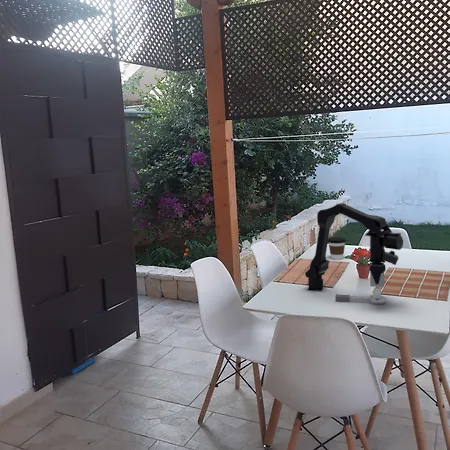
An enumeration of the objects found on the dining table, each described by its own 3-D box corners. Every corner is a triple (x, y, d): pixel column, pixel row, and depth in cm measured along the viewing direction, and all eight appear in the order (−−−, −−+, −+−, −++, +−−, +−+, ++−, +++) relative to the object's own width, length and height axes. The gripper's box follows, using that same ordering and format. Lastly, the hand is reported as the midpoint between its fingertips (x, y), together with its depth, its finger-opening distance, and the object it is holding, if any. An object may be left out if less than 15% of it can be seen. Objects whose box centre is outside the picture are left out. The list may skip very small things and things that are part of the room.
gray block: (370, 286, 200) (370, 272, 199) (370, 282, 205) (370, 269, 204) (384, 286, 198) (384, 273, 197) (383, 282, 203) (383, 269, 202)
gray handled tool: (335, 302, 204) (335, 290, 203) (336, 297, 211) (336, 286, 210) (386, 305, 198) (386, 292, 197) (385, 299, 205) (385, 287, 204)
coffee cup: (323, 258, 282) (323, 238, 280) (338, 255, 286) (338, 236, 284) (335, 261, 272) (335, 241, 270) (350, 258, 277) (350, 239, 275)
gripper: (398, 252, 187) (398, 289, 190) (395, 242, 205) (395, 276, 208) (369, 251, 191) (369, 288, 193) (369, 242, 208) (369, 275, 211)
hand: (376, 282), depth 201 cm, fingers closed on gray block, 6 cm apart
